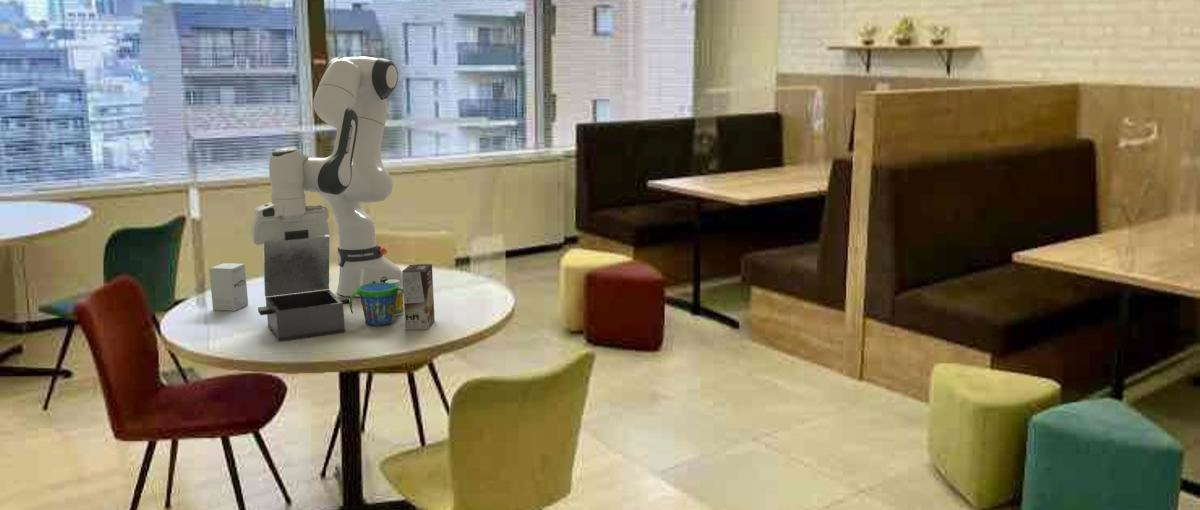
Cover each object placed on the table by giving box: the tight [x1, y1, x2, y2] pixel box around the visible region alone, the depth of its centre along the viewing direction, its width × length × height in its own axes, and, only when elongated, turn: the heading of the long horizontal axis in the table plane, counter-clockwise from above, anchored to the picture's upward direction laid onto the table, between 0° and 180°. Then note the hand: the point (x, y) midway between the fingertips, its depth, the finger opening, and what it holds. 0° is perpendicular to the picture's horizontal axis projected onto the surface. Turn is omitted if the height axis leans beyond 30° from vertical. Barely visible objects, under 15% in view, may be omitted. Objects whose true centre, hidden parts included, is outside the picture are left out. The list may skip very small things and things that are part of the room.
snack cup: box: [348, 283, 403, 327], centre depth 267 cm, size 16×10×10 cm
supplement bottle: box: [385, 280, 404, 317], centre depth 276 cm, size 5×5×10 cm
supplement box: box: [208, 262, 249, 312], centre depth 285 cm, size 7×7×13 cm
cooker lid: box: [262, 230, 330, 298], centre depth 265 cm, size 17×19×1 cm
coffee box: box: [401, 263, 436, 331], centre depth 263 cm, size 9×6×16 cm
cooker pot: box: [257, 289, 350, 342], centre depth 262 cm, size 23×17×8 cm
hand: (292, 257), depth 269 cm, fingers closed
